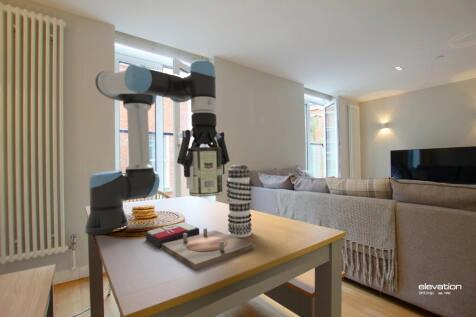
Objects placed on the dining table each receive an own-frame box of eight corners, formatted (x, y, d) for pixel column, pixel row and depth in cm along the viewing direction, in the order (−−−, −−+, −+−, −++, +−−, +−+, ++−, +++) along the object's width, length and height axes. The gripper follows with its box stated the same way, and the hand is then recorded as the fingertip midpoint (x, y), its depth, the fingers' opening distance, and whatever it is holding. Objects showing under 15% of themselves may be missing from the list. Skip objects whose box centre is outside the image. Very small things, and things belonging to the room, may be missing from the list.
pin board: (161, 248, 75) (161, 235, 75) (214, 234, 88) (214, 223, 88) (195, 270, 60) (195, 254, 60) (253, 248, 73) (253, 235, 73)
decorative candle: (222, 233, 89) (220, 165, 89) (241, 228, 94) (240, 164, 94) (237, 239, 82) (236, 165, 82) (257, 233, 87) (256, 164, 87)
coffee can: (208, 190, 81) (207, 148, 81) (229, 193, 74) (228, 147, 74) (181, 194, 74) (180, 148, 74) (202, 198, 66) (201, 146, 66)
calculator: (144, 230, 83) (184, 220, 93) (145, 243, 83) (185, 231, 93) (157, 238, 75) (199, 226, 84) (158, 252, 75) (200, 238, 85)
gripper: (175, 107, 63) (177, 191, 63) (239, 115, 78) (241, 184, 78) (163, 111, 69) (165, 189, 69) (225, 118, 84) (227, 182, 84)
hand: (205, 186), depth 74 cm, fingers closed on coffee can, 10 cm apart
